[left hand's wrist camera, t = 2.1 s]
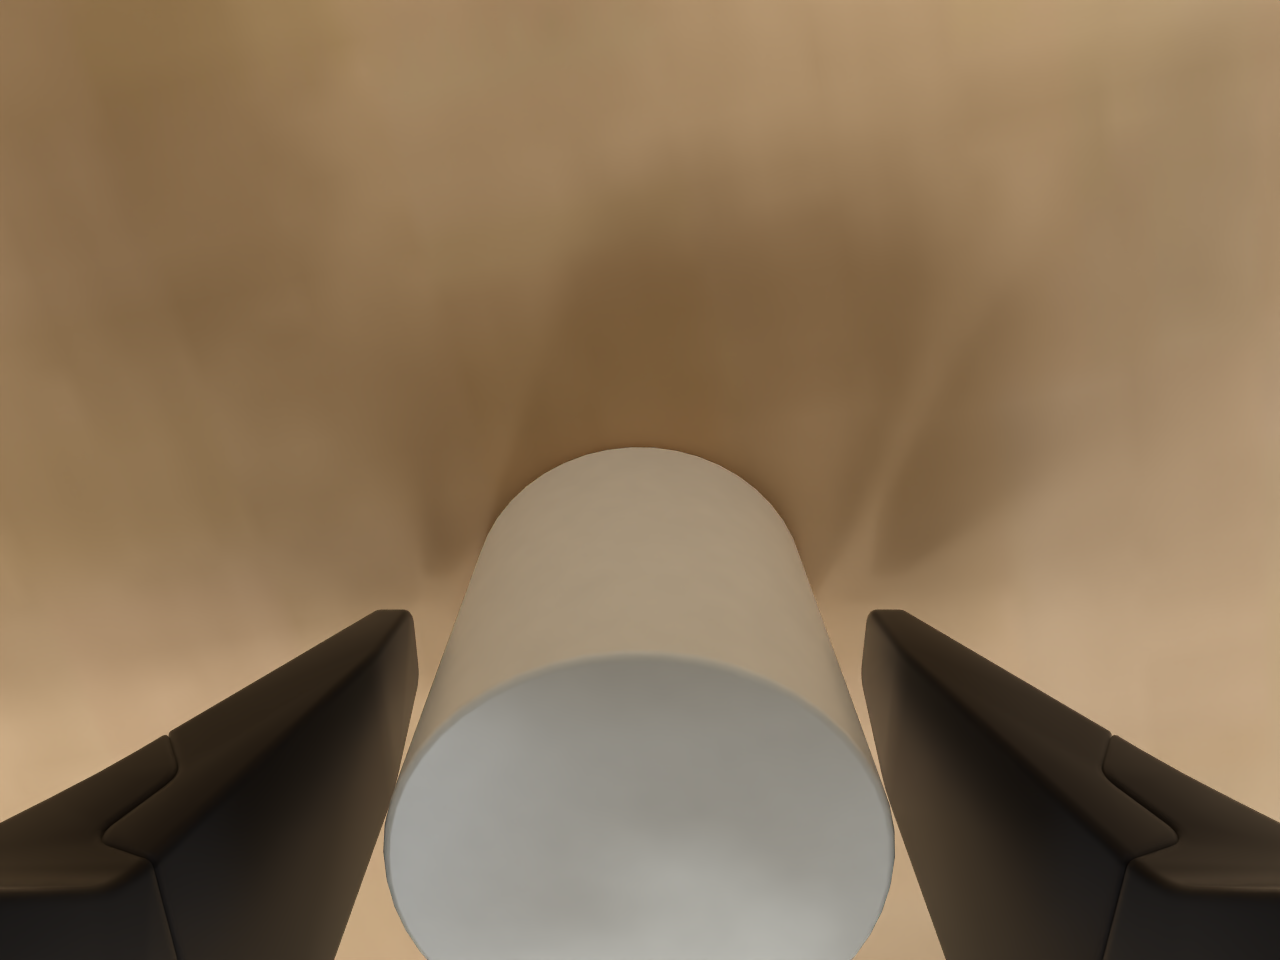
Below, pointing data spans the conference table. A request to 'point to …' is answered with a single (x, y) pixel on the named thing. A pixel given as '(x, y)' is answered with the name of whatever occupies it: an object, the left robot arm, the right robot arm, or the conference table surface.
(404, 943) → the conference table surface
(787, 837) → the can
